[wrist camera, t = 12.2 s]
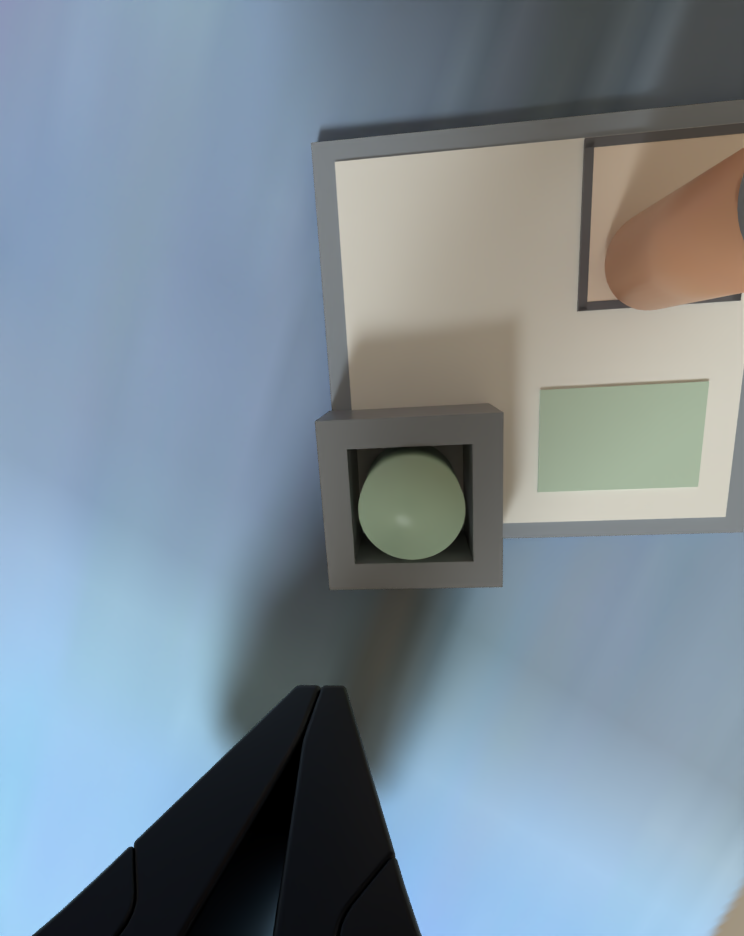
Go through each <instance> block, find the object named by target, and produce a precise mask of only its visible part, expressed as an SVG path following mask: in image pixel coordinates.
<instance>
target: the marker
mask: <svg viewBox="0 0 744 936" xmlns="http://www.w3.org/2000/svg"><path fill="white" fill-rule="evenodd" d="M605 276H606V280H607V283H608V285H609V288H610V290H611V291H612V293H613V294H614V295H615V297H616V298H617V299H618V300H620V301H621V302H622V303H624V304H625V305H627V306H629V307H631V308H634V309H638V310H657V309H662V308H668V307H673V306H678V305H683V304H688V303H693V302H698V301H703V300H709V299H714V298H719V297H724V296H729V295H734V294H739V293H744V148H742V149H740V150H739V151H737V152H736V153H734V154H732V155H731V156H729V157H728V158H726V159H725V160H723V161H721V162H720V163H718V164H717V165H715V166H713V167H712V168H710V169H709V170H707V171H705V172H704V173H702V174H701V175H699V176H697V177H696V178H694V179H693V180H691V181H690V182H688V183H686V184H685V185H683V186H682V187H680V188H678V189H677V190H675V191H674V192H672V193H670V194H669V195H667V196H666V197H664V198H662V199H661V200H659V201H658V202H656V203H654V204H653V205H651V206H650V207H648V208H647V209H645V210H643V211H642V212H640V213H639V214H637V215H635V216H634V217H632V218H631V219H630V220H628V221H627V222H626V223H625V224H624V225H622V226H621V228H620V229H619V230H618V231H617V232H616V234H615V235H614V237H613V238H612V240H611V242H610V244H609V247H608V250H607V253H606V257H605Z"/></svg>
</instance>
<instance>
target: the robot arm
mask: <svg viewBox="0 0 744 936" xmlns="http://www.w3.org/2000/svg"><path fill="white" fill-rule="evenodd" d="M32 936H422V935H421V933H420V930H419V927H418V924H417V921H416V918H415V915H414V912H413V909H412V906H411V903H410V900H409V897H408V894H407V891H406V888H405V885H404V882H403V878H402V875H401V871H400V868H399V865H398V861H397V859H396V858H395V852H394V849H393V845H392V842H391V839H390V835H389V832H388V828H387V825H386V822H385V818H384V815H383V812H382V808H381V805H380V801H379V798H378V795H377V791H376V788H375V785H374V781H373V778H372V774H371V771H370V768H369V764H368V761H367V758H366V754H365V751H364V747H363V744H362V741H361V737H360V734H359V730H358V727H357V724H356V720H355V717H354V714H353V710H352V707H351V703H350V700H349V697H348V693H347V690H346V688H345V687H344V686H323V687H322V688H320V687H319V686H317V685H299V686H297V687H295V688H294V689H293V690H292V691H291V692H290V693H289V694H288V695H287V696H286V697H285V698H284V699H283V700H282V701H280V702H279V703H278V704H277V705H276V706H275V707H274V708H273V709H272V710H271V711H270V712H269V713H268V714H267V715H266V716H265V717H264V718H263V719H262V720H261V721H260V722H259V723H258V724H257V725H256V726H254V727H253V728H252V729H251V730H250V731H249V732H248V733H247V734H246V735H245V736H244V737H243V738H242V739H241V740H240V741H239V742H238V743H237V744H236V745H235V746H234V747H233V748H232V749H231V750H230V751H228V752H227V753H226V754H225V755H224V756H223V757H222V758H221V759H220V760H219V761H218V762H217V763H216V764H215V765H214V766H213V767H212V768H211V769H210V770H209V771H208V772H207V773H206V774H205V775H204V776H202V777H201V778H200V779H199V780H198V781H197V782H196V783H195V784H194V785H193V786H192V787H191V788H190V789H189V790H188V791H187V792H186V793H185V794H184V795H183V796H182V797H181V798H180V799H179V800H178V801H176V802H175V803H174V804H173V805H172V806H171V807H170V808H169V809H168V810H167V811H166V812H165V813H164V814H163V815H162V816H161V817H160V818H159V819H158V820H157V821H156V822H155V823H154V824H153V825H152V826H150V827H149V828H148V829H147V830H146V831H145V832H144V833H143V834H142V835H141V836H140V837H139V838H138V839H137V840H136V841H135V843H134V848H133V847H128V848H127V849H126V850H125V851H124V852H123V853H122V854H121V855H120V856H119V857H118V858H117V859H116V860H115V861H114V862H113V863H112V864H111V865H110V866H109V867H108V868H106V869H105V870H104V871H103V872H102V873H101V874H100V875H99V876H98V877H97V878H96V879H95V880H94V881H93V882H91V883H90V884H89V885H88V886H87V887H86V888H85V889H84V890H83V891H82V892H81V893H80V894H78V895H77V896H76V897H75V898H74V899H73V900H72V901H71V902H70V903H69V904H68V905H67V906H66V907H64V908H63V909H62V910H61V911H60V912H59V913H58V914H56V915H55V916H54V917H53V918H52V919H51V920H50V921H48V922H47V923H46V924H45V925H44V926H43V927H41V928H40V929H39V930H38V931H37V932H36V933H35V934H33V935H32Z"/></svg>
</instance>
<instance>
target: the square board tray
mask: <svg viewBox="0 0 744 936" xmlns="http://www.w3.org/2000/svg"><path fill="white" fill-rule="evenodd" d="M742 148H744V99H742V100H732V101H722V102H712V103H702V104H692V105H682V106H672V107H662V108H652V109H642V110H632V111H622V112H612V113H602V114H592V115H582V116H573V117H563V118H553V119H543V120H533V121H523V122H513V123H503V124H493V125H483V126H473V127H463V128H453V129H443V130H433V131H423V132H413V133H404V134H394V135H384V136H374V137H364V138H354V139H344V140H334V141H324V142H314V143H311V149H312V162H313V174H314V187H315V200H316V213H317V226H318V238H319V251H320V264H321V277H322V290H323V302H324V315H325V328H326V341H327V354H328V366H329V379H330V392H331V405H332V411H329V412H327V413H326V414H325V415H323V416H322V417H320V418H319V419H318V420H316V421H315V428H316V439H317V451H318V462H319V474H320V485H321V497H322V508H323V520H324V531H325V543H326V554H327V566H328V577H329V589H330V590H358V589H416V588H475V587H502V584H503V538H541V537H580V536H618V535H657V534H695V533H734V532H743V531H744V293H739V294H734V295H729V296H724V297H719V298H714V299H709V300H703V301H698V302H693V303H688V304H683V305H678V306H673V307H668V308H662V309H657V310H638V309H634V308H631V307H629V306H627V305H625V304H624V303H622V302H621V301H620V300H618V299H617V298H616V297H615V295H614V294H613V293H612V291H611V290H610V288H609V285H608V283H607V280H606V276H605V257H606V253H607V250H608V247H609V244H610V242H611V240H612V238H613V237H614V235H615V234H616V232H617V231H618V230H619V229H620V228H621V226H622V225H624V224H625V223H626V222H627V221H628V220H630V219H631V218H632V217H634V216H635V215H637V214H639V213H640V212H642V211H643V210H645V209H647V208H648V207H650V206H651V205H653V204H654V203H656V202H658V201H659V200H661V199H662V198H664V197H666V196H667V195H669V194H670V193H672V192H674V191H675V190H677V189H678V188H680V187H682V186H683V185H685V184H686V183H688V182H690V181H691V180H693V179H694V178H696V177H697V176H699V175H701V174H702V173H704V172H705V171H707V170H709V169H710V168H712V167H713V166H715V165H717V164H718V163H720V162H721V161H723V160H725V159H726V158H728V157H729V156H731V155H732V154H734V153H736V152H737V151H739V150H740V149H742ZM414 446H432V447H434V448H436V449H437V450H439V451H440V452H441V453H443V455H444V456H445V457H446V458H447V459H448V460H449V462H450V463H451V465H452V467H453V469H454V472H455V475H456V477H457V480H458V482H459V485H460V487H461V490H462V493H463V495H464V500H465V508H466V509H465V519H464V523H463V526H462V528H461V530H460V532H459V534H458V536H457V537H456V539H455V540H454V541H453V542H452V543H451V544H450V545H449V546H448V547H447V548H446V549H444V550H443V551H441V552H440V553H438V554H436V555H434V556H431V557H428V558H423V559H416V560H407V559H401V558H397V557H393V556H391V555H389V554H386V553H385V552H383V551H381V550H380V549H379V548H377V547H376V546H375V545H374V544H373V543H372V542H371V541H370V540H369V538H368V537H367V536H366V534H365V532H364V531H363V528H362V526H361V523H360V520H359V513H358V504H359V498H360V494H361V491H362V488H363V485H364V482H365V479H366V476H367V473H368V470H369V468H370V466H371V464H372V462H373V461H374V460H375V458H376V457H377V456H378V455H379V454H380V453H381V452H382V451H384V450H385V449H386V448H391V447H414Z"/></svg>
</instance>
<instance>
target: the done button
mask: <svg viewBox="0 0 744 936" xmlns="http://www.w3.org/2000/svg"><path fill="white" fill-rule="evenodd" d="M465 509H466V508H465V500H464V495H463V493H462V490H461V487H460V485H459V482H458V480H457V477H456V475H455V472H454V469H453V467H452V465H451V463H450V462H449V460H448V459H447V458H446V457H445V456H444V455H443V453H441V452H440V451H439V450H437V449H436V448H434V447H432V446H414V447H391V448H386V449H385V450H384V451H382V452H381V453H380V454H379V455H378V456H377V457H376V458H375V460H374V461H373V462H372V464H371V466H370V468H369V470H368V473H367V476H366V479H365V482H364V485H363V488H362V491H361V494H360V498H359V504H358V513H359V520H360V523H361V526H362V528H363V531H364V532H365V534H366V536H367V537H368V538H369V540H370V541H371V542H372V543H373V544H374V545H375V546H376V547H377V548H379V549H380V550H381V551H383V552H385V553H386V554H389V555H391V556H393V557H397V558H401V559H407V560H416V559H423V558H428V557H431V556H434V555H436V554H438V553H440V552H441V551H443V550H444V549H446V548H447V547H448V546H449V545H450V544H451V543H452V542H453V541H454V540H455V539H456V537H457V536H458V534H459V532H460V530H461V528H462V526H463V523H464V519H465Z"/></svg>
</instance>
